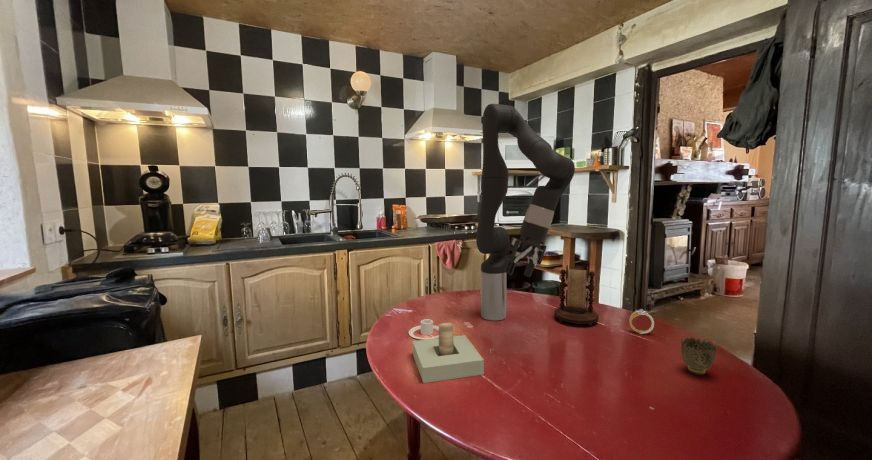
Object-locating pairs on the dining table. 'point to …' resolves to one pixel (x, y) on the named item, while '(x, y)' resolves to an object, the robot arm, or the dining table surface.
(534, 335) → the dining table surface
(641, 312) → the ring
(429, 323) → the candle holder
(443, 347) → the birch peg
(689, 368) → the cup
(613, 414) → the dining table surface
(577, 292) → the scroll
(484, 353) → the dining table surface
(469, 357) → the square hole plate
